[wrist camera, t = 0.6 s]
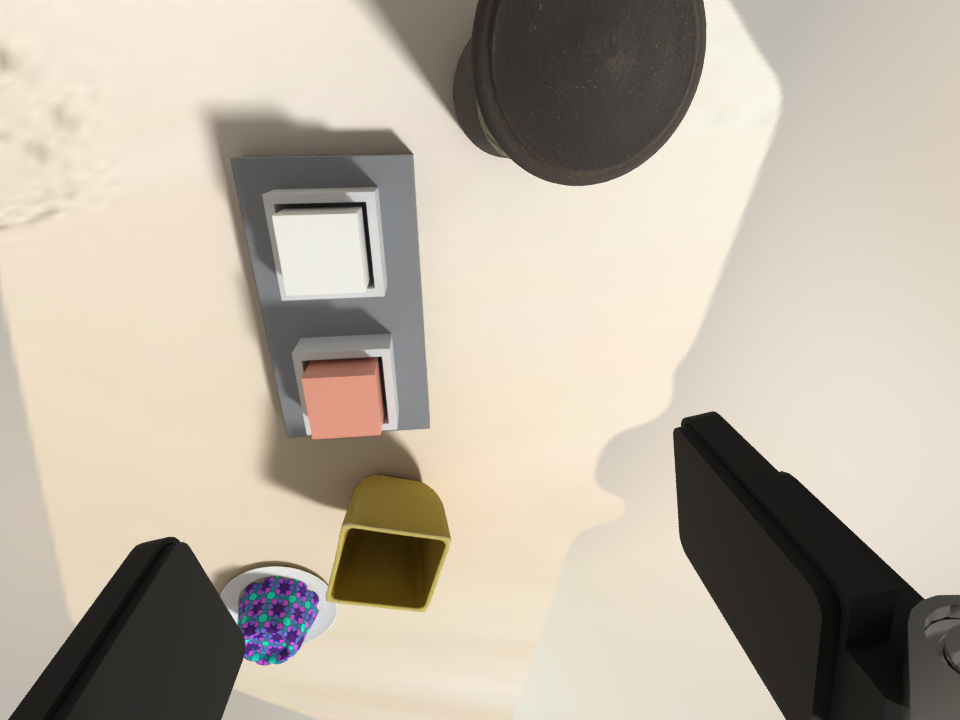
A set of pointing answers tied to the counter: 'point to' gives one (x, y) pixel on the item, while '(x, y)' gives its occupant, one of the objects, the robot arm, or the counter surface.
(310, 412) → the brick key
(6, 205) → the counter surface
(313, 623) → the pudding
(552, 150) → the container
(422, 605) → the flower pot
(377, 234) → the push button panel
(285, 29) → the counter surface
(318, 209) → the white key
